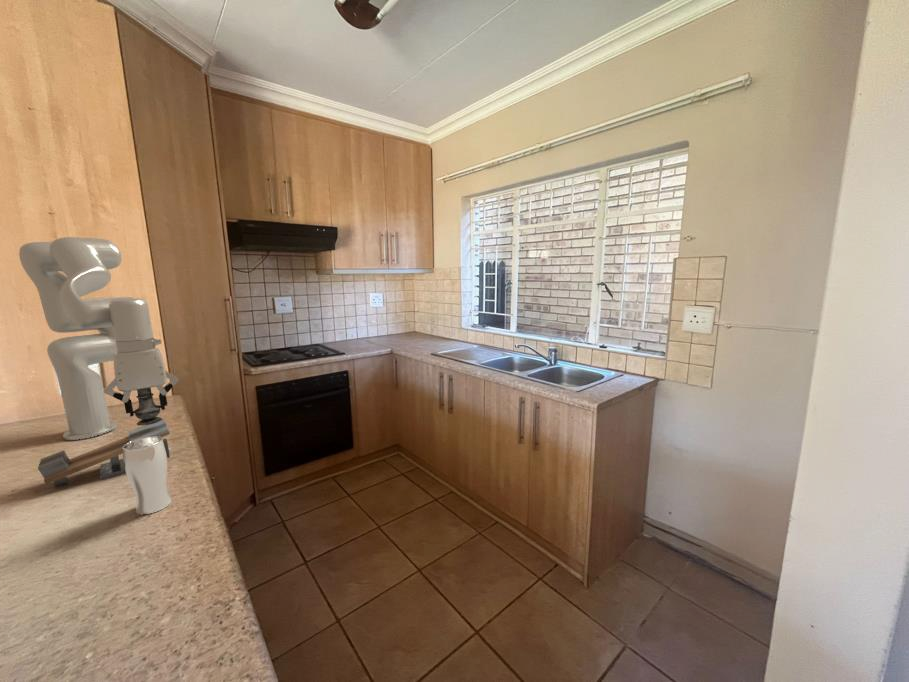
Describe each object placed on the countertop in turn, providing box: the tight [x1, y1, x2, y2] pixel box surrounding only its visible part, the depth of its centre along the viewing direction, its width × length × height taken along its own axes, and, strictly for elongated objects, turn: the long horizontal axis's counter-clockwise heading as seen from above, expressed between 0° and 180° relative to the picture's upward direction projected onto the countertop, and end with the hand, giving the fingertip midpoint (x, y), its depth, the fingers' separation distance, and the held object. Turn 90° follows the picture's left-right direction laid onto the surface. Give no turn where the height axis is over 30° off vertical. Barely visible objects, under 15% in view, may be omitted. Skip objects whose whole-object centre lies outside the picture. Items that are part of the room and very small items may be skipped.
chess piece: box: [133, 387, 163, 427], centre depth 98 cm, size 6×6×12 cm
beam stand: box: [53, 438, 170, 489], centre depth 95 cm, size 8×22×5 cm, turn 133°
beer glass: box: [122, 436, 172, 516], centre depth 79 cm, size 7×7×15 cm
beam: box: [37, 418, 171, 485], centre depth 94 cm, size 10×24×4 cm, turn 133°
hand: (147, 411), depth 99 cm, fingers closed on chess piece, 5 cm apart
